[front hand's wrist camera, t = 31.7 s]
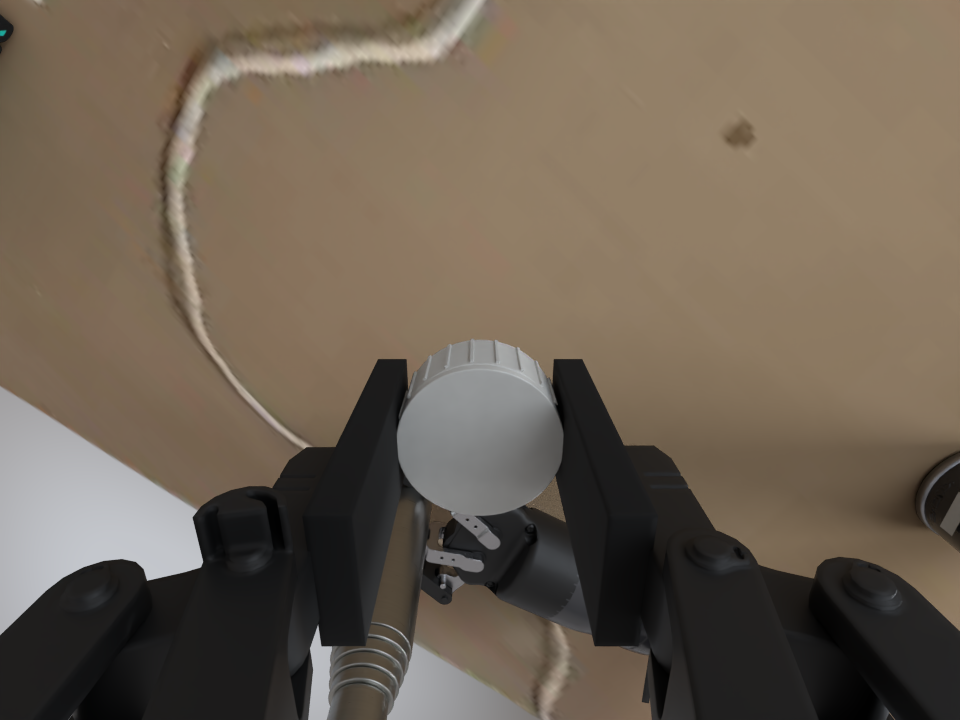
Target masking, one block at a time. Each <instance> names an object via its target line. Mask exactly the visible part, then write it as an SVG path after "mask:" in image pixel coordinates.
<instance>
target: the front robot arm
mask: <svg viewBox="0 0 960 720" xmlns="http://www.w3.org/2000/svg"><path fill="white" fill-rule="evenodd" d="M552 387H553V390H554V393H555V396H556V400H557V403H558V405H557V409H558V412H559V415H560V419H561V422H562V426H563V431H564V436H563V452H562V461H561V464H560V467H559V469H558V471H557V473H556V475H555V476H556V480H557V484H558V489H559V493H560V497H561V502H562V506H563V510H564V515H565V519H566V524H567V528H568V532H569V537H570V541H571V545H572V550H573V554H574V558H575V563H576V567H577V571H578V576H579V580H580V584H581V589H582V593H583V597H584V602H585V606H586V610H587V615H588V619H589V623H590V628H591V632H592V636H593V641H594V645H595V646H639V641H640V635H641V628H642V622H643V625H644V628H645V631H646V634H647V637H648V640H649V643H650V646H651V647H650V653H649V659H648V665H647V672H646V678H645V684H644V690H643V698H642V702H645V703H649V699H650V704H651V714H652V720H894V719H895V720H960V631H959V630H958V629H957V628H956V627H955V626H954V625H953V624H952V623H950V622H949V621H948V620H947V619H946V618H945V617H944V616H943V615H942V614H941V613H940V612H939V611H938V610H937V609H936V608H935V607H934V606H933V605H932V604H931V603H930V602H929V601H928V600H926V599H925V598H924V597H923V596H922V595H921V594H920V593H919V592H918V591H917V590H916V589H915V588H914V587H912V586H911V585H910V584H908V583H907V582H906V581H905V580H903V579H902V578H901V577H899V576H898V575H896V574H894V573H892V572H890V571H888V570H886V569H884V568H882V567H880V566H878V565H876V564H872V563H870V562H866V561H863V560H860V559H854V558H844V557H837V558H832V559H827V560H825V561H823V562H822V563H821V564H820V565H819V566H818V567H817V571H816V574H815V577H814V579H812V578H808V577H804V576H799V575H795V574H790V573H786V572H781V571H777V570H773V569H770V568H767V567H763V566H760V565H758V563H757V561H756V559H755V558H754V556H753V555H752V553H751V552H750V550H749V549H748V548H746V547H745V546H744V545H743V544H741V543H740V542H739V541H738V540H736V539H735V538H732V537H730V536H728V535H726V534H724V533H722V532H720V531H716V530H715V528H714V527H713V525H712V524H711V522H710V520H709V519H708V517H707V515H706V514H705V512H704V511H703V509H702V507H701V506H700V504H699V502H698V501H697V499H696V498H695V496H694V494H693V493H692V491H691V490H690V489H688V485H687V483H686V481H685V480H684V478H683V477H682V476H681V475H680V472H679V470H678V469H677V467H676V465H675V464H674V462H673V460H672V459H671V458H670V457H669V456H667V455H666V454H665V453H663V452H662V451H660V450H659V449H658V448H656V447H655V446H624V444H623V442H622V440H621V438H620V436H619V434H618V432H617V430H616V428H615V426H614V424H613V422H612V420H611V418H610V416H609V414H608V411H607V409H606V407H605V405H604V403H603V401H602V399H601V397H600V395H599V393H598V391H597V389H596V387H595V385H594V383H593V381H592V379H591V376H590V374H589V372H588V370H587V368H586V366H585V364H584V362H583V360H582V359H554V366H553V385H552ZM406 390H407V391H408V378H407V360H406V359H378V361H377V363H376V365H375V367H374V369H373V371H372V373H371V375H370V377H369V379H368V381H367V383H366V385H365V388H364V390H363V392H362V394H361V396H360V398H359V400H358V402H357V404H356V406H355V408H354V410H353V412H352V414H351V416H350V418H349V420H348V423H347V425H346V427H345V429H344V431H343V433H342V435H341V437H340V439H339V441H338V443H337V445H336V447H306V448H305V449H304V450H302V451H301V452H300V453H298V454H297V455H296V456H294V457H293V458H292V459H290V460H289V462H288V463H287V465H286V466H285V468H284V470H283V471H282V473H281V475H280V478H278V479H277V481H276V483H275V484H274V486H273V488H269V487H266V486H249V487H244V488H239V489H234V490H231V491H228V492H226V493H223V494H221V495H219V496H216V497H214V498H213V499H211V500H210V501H208V502H207V503H206V504H204V505H203V506H201V507H200V509H199V510H198V511H197V513H196V514H195V515H194V516H193V521H194V525H195V529H196V533H197V537H198V542H199V546H200V550H201V554H202V558H203V564H202V567H201V568H198V569H195V570H191V571H188V572H184V573H180V574H176V575H171V576H167V577H162V578H158V579H154V580H149V581H147V579H146V576H145V572H144V569H143V568H142V567H141V566H139V565H138V564H137V563H136V562H133V561H128V560H123V559H119V560H109V561H102V562H99V563H96V564H93V565H90V566H87V567H83V568H81V569H79V570H77V571H75V572H74V573H72V574H70V575H68V576H66V577H64V578H62V579H61V580H60V581H58V582H57V583H56V584H55V585H53V586H52V587H51V588H49V589H48V590H47V591H46V592H45V593H44V594H43V595H42V596H40V597H39V598H38V599H37V600H36V601H35V602H34V603H33V604H32V605H31V606H30V607H29V608H28V609H27V610H26V611H25V612H24V613H23V614H22V615H21V616H20V617H19V618H18V619H17V620H16V621H15V622H14V623H13V624H12V625H10V626H9V627H8V628H7V629H6V630H5V631H4V632H3V633H2V634H1V635H0V720H68V719H69V720H308V715H309V704H310V694H311V684H312V674H313V667H312V659H311V653H310V646H311V643H312V641H313V638H314V635H315V632H316V629H317V626H319V632H320V639H321V645H322V646H366V642H367V638H368V634H369V629H370V625H371V621H372V616H373V612H374V608H375V603H376V599H377V595H378V590H379V586H380V581H381V577H382V573H383V568H384V564H385V560H386V555H387V551H388V547H389V542H390V538H391V534H392V529H393V525H394V521H395V516H396V512H397V508H398V503H399V499H400V495H401V490H402V486H403V482H404V477H405V474H404V472H403V470H402V468H401V466H400V463H399V460H398V446H397V428H398V424H399V420H400V419H399V413H400V410H401V407H402V403H403V400H404V397H405V394H406ZM889 712H890V713H891V715H892V716H893V717H894V719H893V717H892V716H891V715H890V714H889ZM71 715H72V716H71Z"/></svg>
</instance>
